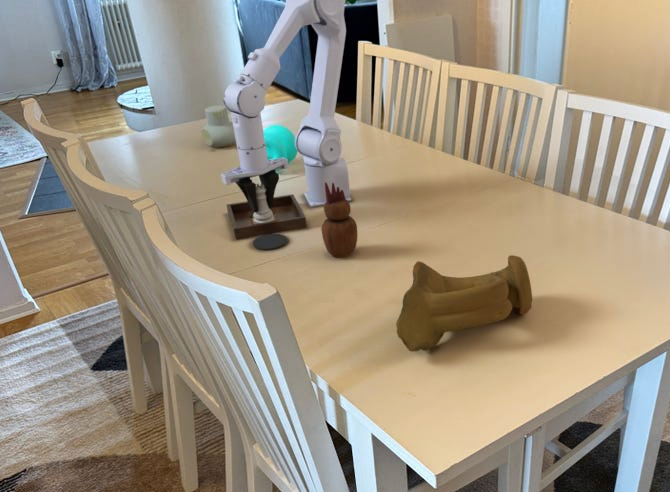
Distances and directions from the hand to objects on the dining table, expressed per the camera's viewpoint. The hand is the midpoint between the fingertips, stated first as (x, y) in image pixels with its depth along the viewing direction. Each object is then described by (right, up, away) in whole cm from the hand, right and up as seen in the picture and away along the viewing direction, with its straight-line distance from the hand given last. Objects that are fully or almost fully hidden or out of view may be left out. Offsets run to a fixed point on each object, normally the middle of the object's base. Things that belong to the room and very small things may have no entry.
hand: (262, 208), depth 147 cm
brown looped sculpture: (+41, -28, -36) cm, 61 cm away
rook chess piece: (0, -2, +2) cm, 3 cm away
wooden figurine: (+19, -12, -12) cm, 25 cm away
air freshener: (-22, +28, +46) cm, 58 cm away
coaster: (+3, -9, -7) cm, 12 cm away
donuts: (-3, +16, +29) cm, 33 cm away
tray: (+1, -2, +2) cm, 3 cm away
